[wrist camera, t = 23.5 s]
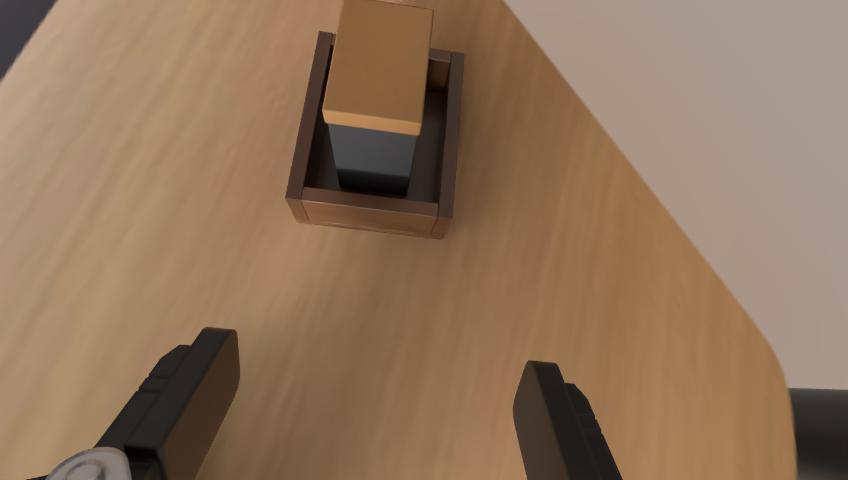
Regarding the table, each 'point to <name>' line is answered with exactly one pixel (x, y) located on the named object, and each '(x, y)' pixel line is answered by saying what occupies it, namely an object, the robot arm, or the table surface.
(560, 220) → the table surface
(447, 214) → the holder
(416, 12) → the eraser
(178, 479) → the robot arm
